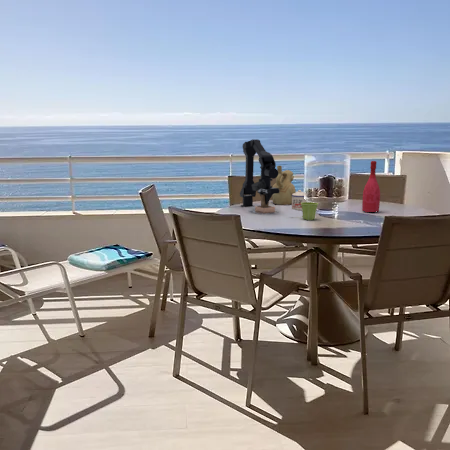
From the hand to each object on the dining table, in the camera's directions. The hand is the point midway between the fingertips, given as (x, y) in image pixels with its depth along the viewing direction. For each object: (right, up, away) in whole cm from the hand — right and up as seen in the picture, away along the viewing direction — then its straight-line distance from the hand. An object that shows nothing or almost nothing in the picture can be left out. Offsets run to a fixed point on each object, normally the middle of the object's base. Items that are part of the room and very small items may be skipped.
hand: (265, 204), depth 288 cm
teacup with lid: (+23, -3, +17) cm, 29 cm away
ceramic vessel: (+14, +2, +39) cm, 42 cm away
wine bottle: (+63, -4, +10) cm, 64 cm away
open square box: (0, -4, +1) cm, 4 cm away
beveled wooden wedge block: (0, -2, 0) cm, 2 cm away
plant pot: (+22, -9, -15) cm, 28 cm away
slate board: (-1, -5, +2) cm, 5 cm away
